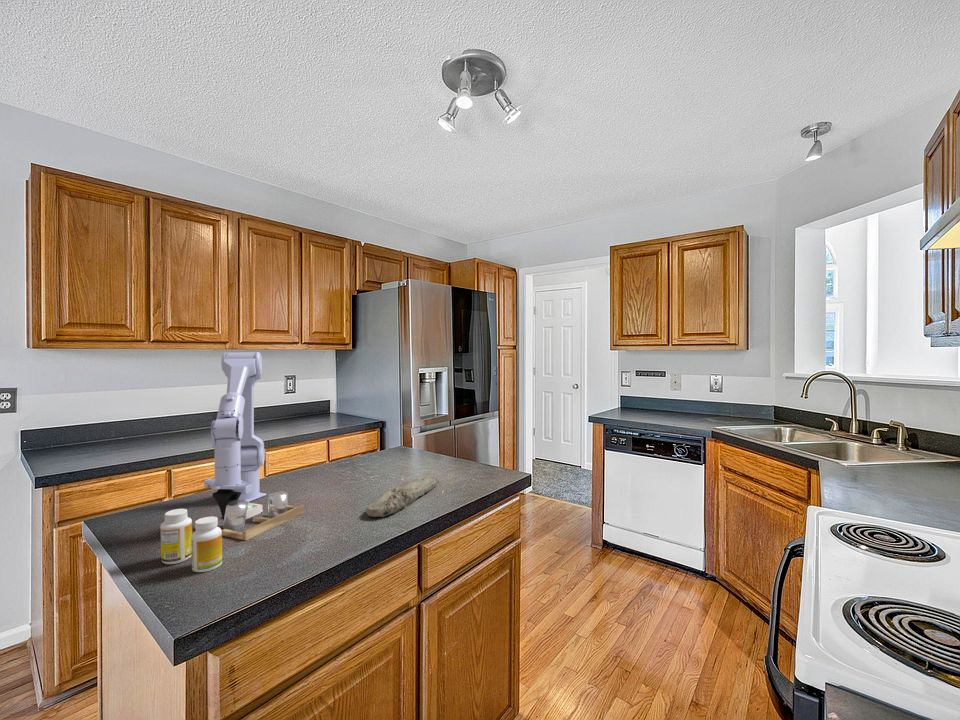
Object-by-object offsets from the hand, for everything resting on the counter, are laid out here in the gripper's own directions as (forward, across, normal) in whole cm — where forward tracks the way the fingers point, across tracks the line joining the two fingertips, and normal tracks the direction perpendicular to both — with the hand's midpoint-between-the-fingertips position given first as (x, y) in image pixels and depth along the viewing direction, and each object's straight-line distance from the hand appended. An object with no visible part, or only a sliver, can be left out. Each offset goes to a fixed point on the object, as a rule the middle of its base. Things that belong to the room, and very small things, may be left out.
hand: (228, 518), depth 111 cm
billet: (+2, +2, 0) cm, 2 cm away
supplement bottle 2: (+2, +14, -16) cm, 22 cm away
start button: (+1, -3, +7) cm, 8 cm away
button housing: (+2, -3, +7) cm, 8 cm away
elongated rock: (+2, +31, +34) cm, 46 cm away
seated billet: (+2, +7, +10) cm, 12 cm away
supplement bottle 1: (+2, +6, -17) cm, 18 cm away
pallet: (+2, +7, +5) cm, 9 cm away
